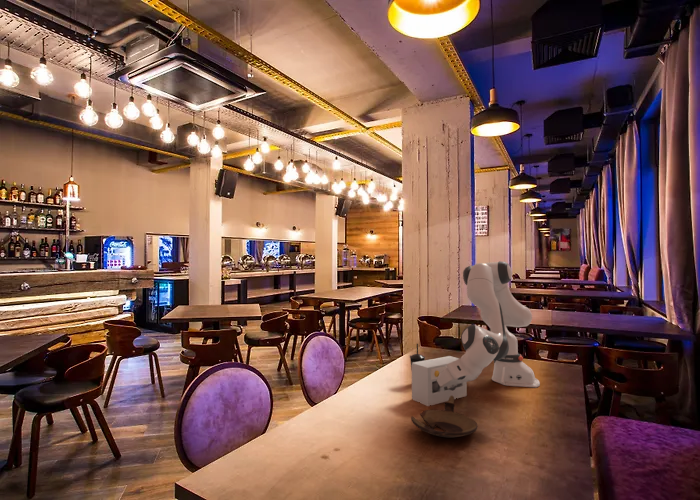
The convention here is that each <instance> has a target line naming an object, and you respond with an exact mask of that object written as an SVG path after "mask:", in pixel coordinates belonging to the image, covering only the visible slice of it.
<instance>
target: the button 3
mask: <svg viewBox="0 0 700 500" xmlns="http://www.w3.org/2000/svg"><path fill="white" fill-rule="evenodd" d="M439 388H440V386H439V384H438V382H436V381H434V382H432V390H433V391H435V392H437V391H438V390H439Z"/></svg>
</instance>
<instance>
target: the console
mask: <svg viewBox="0 0 700 500" xmlns="http://www.w3.org/2000/svg"><path fill="white" fill-rule="evenodd" d="M459 358H460V357H454V356H451V355H447V356H443V357H437V358H432V359H426V360H424V361H419V362H413V363H412V371H411V400H412V399H413V401H414V402H418V403H419V402H420V404H422V405H424V406H426V407H430V405H431V406H434V405H438V404H443V403H445V402H447V401H448V400H449V398H450V396H453V397H454V400H456V398H457V399H459V398H463V397H464V398H465V397H467V395H468V393H467V390H468V389H467V388H468V386H467V385H468V384H467V383H468V382H464V383H461V385H460V386H456V388H455V390H453V391H452V390H449V389H446V388H445V387H442V388H441V387H440V388H439V390H438V391H437V392H435V391H433V390H432V382H434V381H436V382H437V378H438V376H439V375H440V374H441V373H442V372H443V370H445V369H446V368H447V365H448V364H449V363H451V362H453V361H456V360H457V359H459Z"/></svg>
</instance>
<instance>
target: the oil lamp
mask: <svg viewBox="0 0 700 500" xmlns="http://www.w3.org/2000/svg"><path fill="white" fill-rule="evenodd" d="M454 409H455V399H454V397H453V396H450V398H449V400H448V401H446V402H444V409H442V410H441V409H440V410H438V409H425V410H423V411H422V412H421V413H419V415H420V417H421V419H423V421H424V422H425V423H426V424H427V425H426V424H424V423H423V422H421V421H420V420H418V419H416V417H414V416H413V415H412V416H411V418H410V419H411V423H412V424H413V425H415V426H416V428H418V429H419V430H421V431H422V432H425V433H427V434H430V435H432V436H437V437H441V438H447V439H448V438H449V439H450V438H459V437H464V436H468V435H470V434H473V433H474V432H476V431H477V430H478V423H477V422H476V420H474V419H472V418H471V417H469V416H467V415H464V414H462V413H459V412H455V410H454ZM436 427H438V428H439V429H441V430H443V431H441V430H437V429H435V428H436Z"/></svg>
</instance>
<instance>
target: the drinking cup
mask: <svg viewBox="0 0 700 500" xmlns="http://www.w3.org/2000/svg"><path fill="white" fill-rule="evenodd" d="M409 358H410V367H411V368H410V370H411V372H412V363H413V362H419V361H424V360H425V359H426V356H425V355H423V354H421V353H420V354H419V343H416V353H413V354H412V355H409Z"/></svg>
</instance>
